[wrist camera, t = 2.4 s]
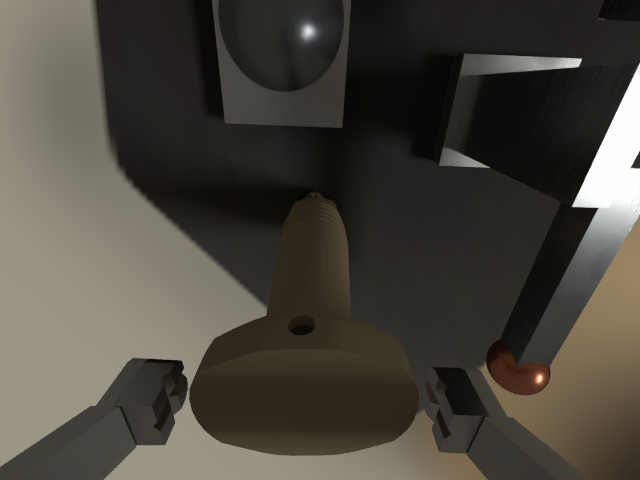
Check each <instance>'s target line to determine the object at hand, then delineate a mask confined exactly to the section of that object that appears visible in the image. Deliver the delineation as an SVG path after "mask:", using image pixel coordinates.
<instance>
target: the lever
mask: <svg viewBox="0 0 640 480" xmlns="http://www.w3.org/2000/svg"><path fill="white" fill-rule="evenodd" d="M597 19H600V20H621V21H640V0H604V2H603V5H602V8H601V10H600V13H599V15H598V18H597ZM639 215H640V150H639V152H638V154H637V156H636V158H635V160H634V162H633V164H632V165H631V167H630V169H629V171H628V173H627V175H626V177H625V178H624V180H623V182H622V184H621V186H620V188H619V190H618V192H617V193H616V195H615V197H614V199H613V201H612V203H611V205H610V207H609V208H590V207H571V206H569V205H567V204H565V203H563V202H561V204H560V206H559V209H558V211H557V213H556V215H555V217H554V220H553V222H552V224H551V226H550V229H549V231H548V233H547V235H546V237H545V240H544V242H543V244H542V246H541V249H540V251H539V253H538V255H537V257H536V260H535V262H534V264H533V266H532V269H531V271H530V273H529V275H528V277H527V280H526V282H525V284H524V286H523V289H522V291H521V293H520V295H519V298H518V300H517V302H516V304H515V306H514V309H513V311H512V313H511V315H510V318H509V320H508V322H507V324H506V326H505V329H504V331H503V333H502V335H501V338H500V340H498V341H496V342H495V343H493V344H492V345H491V347H490V348H489V350H488V352H487V356H486V364H487V368H488V371H489V373H490V375H491V376H492V378H493V379H494V380H495V381H496V383H497V384H499V385H500V386H501V387H502V388H504V389H505V390H508V391H509V392H512V393H514V394H519V395H532V394H536V393H538V392H540V391H541V390H543V389H544V388H545V387H546V386H547V384H548V382H549V379H550V365H551V363H552V361H553V359H554V358H555V356H556V354H557V353H558V351H559V349H560V348H561V346H562V344H563V343H564V341H565V339H566V338H567V336H568V334H569V332H570V331H571V329H572V328H573V326H574V324H575V322H576V321H577V319H578V317H579V316H580V314H581V312H582V311H583V309H584V307H585V306H586V304H587V302H588V301H589V299H590V297H591V296H592V294H593V292H594V291H595V289H596V287H597V286H598V284H599V282H600V280H601V279H602V277H603V275H604V274H605V272H606V270H607V269H608V267H609V265H610V264H611V262H612V260H613V259H614V257H615V255H616V254H617V252H618V250H619V249H620V247H621V245H622V244H623V242H624V240H625V238H626V237H627V235H628V233H629V232H630V230H631V228H632V227H633V225H634V223H635V222H636V220H637V218H638V217H639Z"/></svg>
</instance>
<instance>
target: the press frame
mask: <svg viewBox="0 0 640 480" xmlns="http://www.w3.org/2000/svg"><path fill="white" fill-rule="evenodd" d="M212 5H213V15H214V24H215V33H216V43H217V52H218V62H219V71H220V80H221V90H222V99H223V108H224V118H225V123H235V124H259V125H284V126H308V127H333V128H342V125H343V110H344V96H345V81H346V67H347V52H348V38H349V23H350V9H351V0H212ZM581 60H582V59H574V58H551V57H529V56H506V55H484V54H461V55H457V56H453V60H452V65H451V70H450V74H449V79H448V84H447V88H446V93H445V98H444V102H443V107H442V112H441V116H440V121H439V126H438V130H437V135H436V140H435V145H434V149H433V154H432V159H431V160H432V161H433V162H435V163H436V164H438V165H440V166H465V167H490V168H492V169H494V170H496V171H498V172H500V173H502V174H504V175H507V176H509V177H511V178H513V179H515V180H517V181H519V182H521V183H523V184H525V185H527V186H530V187H532V188H534V189H536V190H538V191H540V192H542V193H544V194H546V195H548V196H550V197H553V198H555V199H557V200H559V201H561V202H563V203H565V204H567V205H569V206H571V207H590V208H609V207H610V205H611V203H612V201H613V199H614V197H615V195H616V193H617V192H618V190H619V188H620V186H621V184H622V182H623V180H624V178H625V177H626V175H627V173H628V171H629V169H630V167H631V165H632V164H633V162H634V160H635V158H636V156H637V154H638V152H639V150H640V62H637V63H624V64H611V65H599V66H586V67H579V65H580V62H581Z"/></svg>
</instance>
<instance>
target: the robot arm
mask: <svg viewBox="0 0 640 480" xmlns="http://www.w3.org/2000/svg"><path fill="white" fill-rule="evenodd" d="M183 369H184V366H183V363H182V361H179V360H162V359H141V358H140V359H139V358H133V359H131V360H130V361H129V362H128V363H127V364H126V365H125V367H124V368H123V369H122V371H121V372H120V373H119V375H118V376H117V378H116V379H115V380H114V382H113V383H112V384H111V386H110V387H109V389H108V390H107V391H106V393H105V394H104V395H103V397H102V398H101V400H100V401H99V402H98V404H97V405H96V406H91V407H89V408H87V409H86V410H84V411H83V412H81V413H80V414H78V415H77V416H75V417H74V418H72V419H71V420H69V421H68V422H66V423H65V424H64V425H62V426H60V427H59V428H57V429H56V430H55V431H53V432H52V433H50V434H49V435H47V436H46V437H44V438H43V439H41V440H40V441H38V442H37V443H35V444H34V445H32V446H31V447H29V448H28V449H26V450H25V451H23V452H22V453H20V454H19V455H17V456H16V457H14V458H13V459H12V460H10V461H9V462H7V463H5V464H4V465H3V466H1V467H0V480H103V479H105V477H107V476H108V475H109V473H111V472H112V471H113V470H114V469H115V468H116V467H117V466H118V465H119V464H120V463H121V462H122V461H123V460H124V459H125V458H126V457H127V456H128V455H129V454H130V453H131V452H132V451H133V450H134V449H135V448H136V445H165V444H166V442H167V440H168V437H169V435H170V433H171V431H172V428H173V426H174V424H175V420H174V416H173V415H174V414H175V413H177V412H178V411H179V410H180V409H181V408H182V406H183V404H184V401H185V399H186V394H187V390H188V382H187V378H186V377H185V376H184V375H183V374H182V371H183ZM427 375H428V378H429V381H428V382H427V383H425V384H424V389H423V402H424V407H425V410H426V414H427V416H428V417H429V418H430V419H431V420H432V421H433V422H434V424H433V427H432V432H433V435H434V438H435V441H436V444H437V446H438V450H439V452H447V453H466V454H467V456H468V457H469V458H470V459H471V460H472V462H473V463H474V464H475V465H476V466H477V467H478V469H479V470H480V471H481V472H482V473H483V474H484V476H485V477H486V478H487V479H488V480H589V479H588V478H587V477H586V476H584V475H583V474H582V473H581V472H580V471H578V470H577V469H576V468H575V467H573V466H572V465H571V464H570V463H568V462H567V461H566V460H565V459H563V458H562V457H561V456H560V455H558V454H557V453H556V452H555V451H553V450H552V449H551V448H550V447H549V446H547V445H546V444H545V443H544V442H542V441H541V440H539V438H537V437H536V436H535V435H534V434H532V433H531V432H530V431H529V430H527V429H526V428H525V427H524V426H522V425H521V424H520V423H518V422H517V421H516V420H515V419H514V418H509V417H507V415H506V414H505V412H504V410H503V408H502V407H501V405H500V403H499V401H498V400H497V398H496V396H495V395H494V393H493V391H492V390H491V388H490V386H489V384H488V383H487V381H486V379H485V378H484V376H483V374H482V373H481V371H480V370H479V369H475V368H445V367H431V368H430V369H429V371H428V374H427Z"/></svg>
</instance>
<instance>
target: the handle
mask: <svg viewBox="0 0 640 480" xmlns="http://www.w3.org/2000/svg"><path fill="white" fill-rule="evenodd" d="M337 210H338V209H337V206H336V204H335V203H334V201H333V200H329V199H326V198H324V197H323V196H321V195H320V193H319V192H317V191H312V192H309V194H308V195H307V196H306V197H305V198H303V199H301V200H297V201H295V203H294V204H293V206H292V208H291V211H290V213H289V214H288V216H287V218H286V220H285V222H284V224H283V227H282V230H281V233H280V236H279V240H278V245H277V252H276V259H275V266H274V273H273V281H272V286H271V292H270V298H269V304H268V309H267V315H266V316H265V317H262V318H259V319H256V320H253V321H251V322H248V323H246V324H244V325H241V326H239V327H237V328H235V329H233V330H231V331H228V332H227V333H225V334H223V335H221V336H219V337H217V338H215V339H214V340H213V342H212V343H211V345H210V346H209V348H208V349H207V351H206V353H205V355H204V357H203V359H202V361H201V363H200V366H199V368H198V370H197V372H196V375H195V377H194V379H193V382H192V384H191V387H190V397H189V400H190V404H191V408H192V411H193V413H194V415H195V417H196V419H197V421H198V423H199V424H200V425H201V426H202V428H203V429H204V430H205V431H206V432H207V433H209V434H210V435H211V436H212V437H214V438H215V439H217V440H218V441H220V442H222V443H225V444H229V445H233V446H238V447H242V448H246V449H250V450H255V451H259V452H264V453H269V454H276V455H292V456H295V455H335V454H343V453H349V452H353V451H358V450H361V449H366V448H370V447H373V446H377V445H380V444H384V443H388V442H391V441H394V440H395V439H397V438H398V437H399V436H401V435H402V434H403V433H404V432H405V431H406V430H407V429H408V428H409V427H410V425H411V423H412V422H413V420H414V418H415V415H416V412H417V410H418V401H419V395H418V389H417V385H416V382H415V379H414V376H413V372H412V369H411V367H410V364H409V361H408V358H407V356H406V354H405V352H404V350H403V348H402V347H401V345H400V343H399V342H398V341H397V340H396V339H395V337H394V336H392V335H390V334H388V333H386V332H384V331H382V330H379V329H377V328H375V327H372V326H370V325H368V324H365V323H363V322H360V321H357V320H355V319H352V316H351V301H350V286H349V257H348V242H347V236H346V232H345V228H344V225H343V222H342V219H341V217H340V215H339V213H338V211H337Z"/></svg>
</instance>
